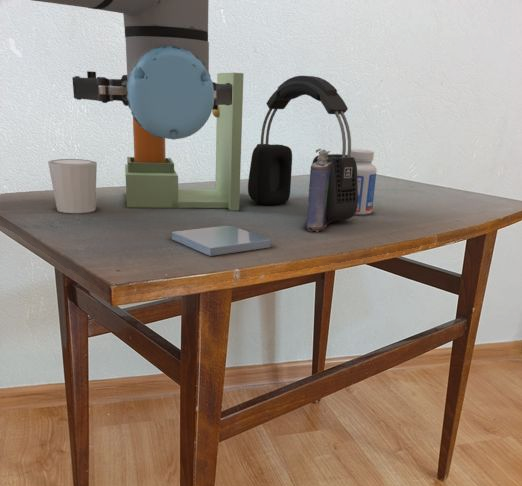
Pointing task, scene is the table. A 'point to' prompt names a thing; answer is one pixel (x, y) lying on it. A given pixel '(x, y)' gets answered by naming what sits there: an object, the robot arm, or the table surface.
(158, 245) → the table surface
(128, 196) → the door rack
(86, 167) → the white cup
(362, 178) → the pill bottle
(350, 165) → the headphones
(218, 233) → the coaster
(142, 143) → the amber bottle
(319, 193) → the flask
